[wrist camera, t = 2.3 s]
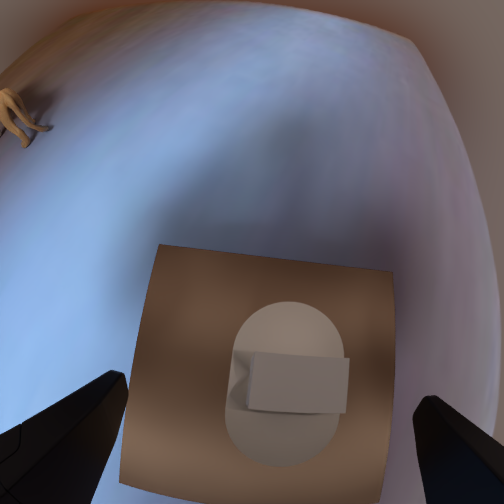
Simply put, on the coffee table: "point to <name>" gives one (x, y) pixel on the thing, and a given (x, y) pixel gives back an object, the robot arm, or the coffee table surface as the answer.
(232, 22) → the coffee table surface
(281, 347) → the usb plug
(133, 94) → the coffee table surface
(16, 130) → the lion figurine
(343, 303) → the walnut dock
